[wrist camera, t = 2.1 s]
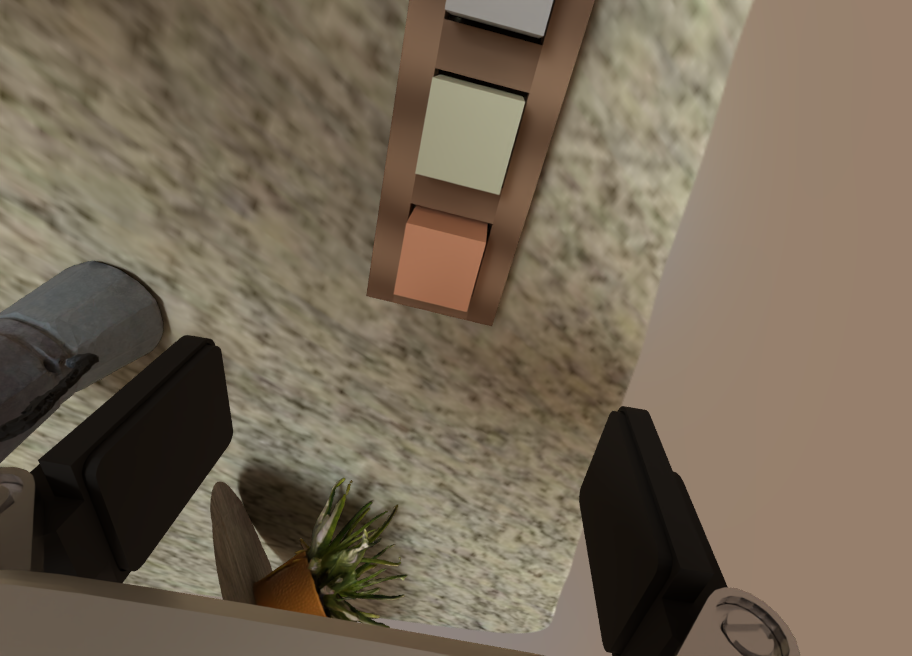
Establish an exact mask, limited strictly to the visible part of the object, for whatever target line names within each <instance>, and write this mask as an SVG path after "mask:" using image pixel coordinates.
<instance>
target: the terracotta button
mask: <svg viewBox="0 0 912 656" xmlns="http://www.w3.org/2000/svg"><path fill="white" fill-rule="evenodd" d="M487 225H488V223H487V222H483V221H479V220H475V219H471V218H467V217H463V216H459V215H455V214H451V213H447V212H443V211H439V210H436V209H432V208H428V207H424V206H420V205H416V207H415V208H414V210H413V212H412V214H411V215H410V217H409V219H408V221H407V223H406V228H405V233H404V239H403V244H402V250H401V256H400V261H399V267H398V272H397V278H396V283H395V289H394V294H395V295H399V296H403V297H407V298H411V299H415V300H419V301H423V302H427V303H432V304H436V305H440V306H444V307H448V308H452V309H456V310H460V311H464V312H467V310H468V306H469V302H470V299H471V295H472V292H473V288H474V284H475V281H476V277H477V274H478V270H479V266H480V263H481V259H482V256H483V252H484V248H485V245H486V238H487Z"/></svg>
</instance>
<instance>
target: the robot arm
mask: <svg viewBox="0 0 912 656" xmlns="http://www.w3.org/2000/svg"><path fill="white" fill-rule="evenodd" d="M232 436H233V427H232V420H231V413H230V406H229V400H228V393H227V386H226V379H225V373H224V366H223V359H222V353H221V349H220V348H219V347H218V346H215V343H214V341H213V340H211V339H208V338H202V337H196V336H190V335H185V336H183V337H181V338H180V339H179V340H178V341H176V342H175V343H174V344H173V345H172V346H171V347H169V348H168V349H167V350H166V351H165V352H164V353H162V354H161V355H160V356H159V357H158V358H157V359H156V360H154V361H153V362H152V363H151V364H150V365H149V366H147V367H146V368H145V369H144V370H143V371H142V372H140V373H139V374H138V375H137V376H136V377H135V378H133V379H132V380H131V381H130V382H129V383H128V384H126V385H125V386H124V387H123V388H122V389H121V390H119V391H118V392H117V393H116V394H115V395H114V396H112V397H111V398H110V399H109V400H108V401H107V402H105V403H104V404H103V405H102V406H101V407H100V408H98V409H97V410H96V411H95V412H94V413H93V414H91V415H90V416H89V417H88V418H87V419H86V420H84V421H83V422H82V423H81V424H80V425H79V426H77V427H76V428H75V429H74V430H73V431H72V432H70V433H69V434H68V435H67V436H66V437H65V438H63V439H62V440H61V441H60V442H59V443H58V444H56V445H55V446H54V447H53V448H52V449H51V450H49V451H48V452H47V453H46V454H45V455H44V456H42V457H41V458H40V459H39V460H38V461H39V463H40V464H39V465H38V466H37V467H36V468H35V469H33V470H32V471H31V472H30V473H29V472H28V471H27V470H24V469H20V468H16V467H0V656H544V655H539V654H534V653H529V652H523V651H518V650H512V649H506V648H501V647H495V646H489V645H483V644H478V643H472V642H467V641H461V640H455V639H450V638H444V637H438V636H432V635H427V634H421V633H415V632H409V631H404V630H398V629H392V628H387V627H381V626H375V625H369V624H363V623H357V622H352V621H346V620H340V619H334V618H328V617H322V616H317V615H311V614H305V613H299V612H293V611H287V610H281V609H275V608H270V607H264V606H258V605H252V604H246V603H240V602H234V601H228V600H221V599H215V598H209V597H203V596H197V595H191V594H185V593H179V592H173V591H167V590H161V589H155V588H149V587H143V586H137V585H130V584H123V582H124V580H125V579H126V577H127V576H128V575H129V573H130V572H131V571H136V570H138V569H139V568H140V567H141V566H142V565H143V564H144V563H145V561H146V560H147V558H148V557H149V556H150V554H151V553H152V551H153V550H154V549H155V547H156V546H157V545H158V543H159V542H160V540H161V539H162V538H163V536H164V535H165V533H166V532H167V531H168V529H169V528H170V526H171V525H172V524H173V522H174V521H175V519H176V518H177V517H178V515H179V514H180V512H181V511H182V510H183V508H184V507H185V505H186V504H187V503H188V501H189V500H190V499H191V497H192V496H193V494H194V493H195V492H196V490H197V489H198V487H199V486H200V485H201V483H202V482H203V480H204V479H205V478H206V476H207V475H208V473H209V472H210V471H211V469H212V468H213V466H214V465H215V464H216V462H217V461H218V459H219V458H220V457H221V455H222V454H223V452H224V451H225V450H226V448H227V447H228V445H229V444H230V442H231V439H232ZM579 503H580V510H581V516H582V522H583V528H584V534H585V539H586V545H587V552H588V558H589V564H590V569H591V575H592V582H593V588H594V594H595V600H596V606H597V612H598V618H599V624H600V630H601V636H602V642H603V646H604V649H605V651H606V652H610V653H612V656H800V652H799V649H798V646H797V642H796V639H795V637H794V636H793V634H792V632H791V630H790V629H789V627H788V626H787V624H786V623H785V622H784V621H783V620H782V618H781V617H780V616H779V615H778V614H777V613H776V612H775V611H774V610H773V609H772V608H771V607H770V606H768V605H767V604H766V603H765V602H764V601H762V600H760V599H759V598H757V597H755V596H753V595H752V594H750V593H748V592H745V591H742V590H740V589H737V588H728V587H727V585H726V582H725V580H724V577H723V575H722V573H721V570H720V568H719V566H718V563H717V561H716V559H715V556H714V554H713V551H712V549H711V546H710V544H709V542H708V540H707V537H706V535H705V532H704V530H703V527H702V525H701V523H700V520H699V518H698V516H697V513H696V511H695V508H694V506H693V504H692V501H691V499H690V496H689V494H688V492H687V490H686V487H685V485H684V482H683V480H682V479H681V477H680V476H679V475H678V474H677V473H676V472H673V471H672V468H671V466H670V464H669V461H668V458H667V456H666V453H665V451H664V448H663V446H662V443H661V441H660V439H659V436H658V434H657V431H656V429H655V426H654V424H653V421H652V419H651V416H650V414H649V412H648V411H647V410H642V409H636V408H631V407H624V406H622V407H620V408H619V410H618V412H617V411H612V412H611V413H610V415H609V417H608V420H607V422H606V425H605V427H604V430H603V432H602V435H601V438H600V440H599V443H598V445H597V448H596V450H595V453H594V455H593V458H592V460H591V463H590V466H589V468H588V471H587V473H586V476H585V478H584V481H583V483H582V486H581V489H580V495H579Z"/></svg>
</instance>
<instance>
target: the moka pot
mask: <svg viewBox="0 0 912 656" xmlns="http://www.w3.org/2000/svg"><path fill="white" fill-rule="evenodd" d="M162 333H163V320H162V317H161V313H160V310H159V307H158V305H157V302H156V300H155V298H153V297H152V295H151V294H150V293H149V292H148V291H147V290H146V289H145V287H143V286H142V285H141V284H140V283H139V282H138V281H136V280H135V279H133V278H131V277H130V276H128V275H127V274H126V273H124V272H123V271H121V270H119V269H117V268H114V267H112V266H109V265H106V264H103V263H99V262H96V261H89V262H84V263H81V264H78V265H74V266H72V267H69V268H67V269H65V270H63V271H62V272H60V273H59V274H58V275H56V276H55V277H53V278H52V279H50V280H49V281H47V282H45V283H44V284H42V285H41V286H39V287H38V288H36V289H35V290H34V291H32V292H31V293H29V294H28V295H26V296H25V297H23V298H21V299H20V300H18V301H17V302H16V303H14V304H13V305H12V306H10V307H8V308H7V309H5V310H4V311H2V312H1V313H0V463H1V462H2V461H3V460H4V459H5V458H6V457H7V456H8V455H9V454H10V453H11V452H12V451H13V450H14V449H16V448H17V447H18V446H19V445H20V444H21V443H22V442H23V441H24V440H25V439H26V438H27V437H28V436H29V435H30V434H31V433H33V432H34V431H35V430H36V429H37V428H38V427H39V426H40V425H41V424H42V423H43V422H44V421H45V420H46V419H48V418H49V417H50V416H51V415H52V414H53V413H54V412H55V411H56V410H57V409H58V408H59V407H60V405H61V404H62V403H63V402H64V401H66V400H67V399H68V398H70V397H71V396H72V395H73V394H74V393H75V392H77V391H80V390H82V389H84V388H86V387H88V386H89V385H91V384H93V383H95V382H97V381H98V380H100V379H102V378H104V377H106V376H107V375H109V374H111V373H113V372H114V371H116V370H118V369H120V368H122V367H123V366H125V365H127V364H129V363H131V362H133V361H135V360H136V359H138V358H140V357H142V356H144V355H146V354H147V353H149V352H151V351H152V350H153V349H154V348H155V347H156V346H157V344H158V343H159V341H160V339H161V336H162Z"/></svg>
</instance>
